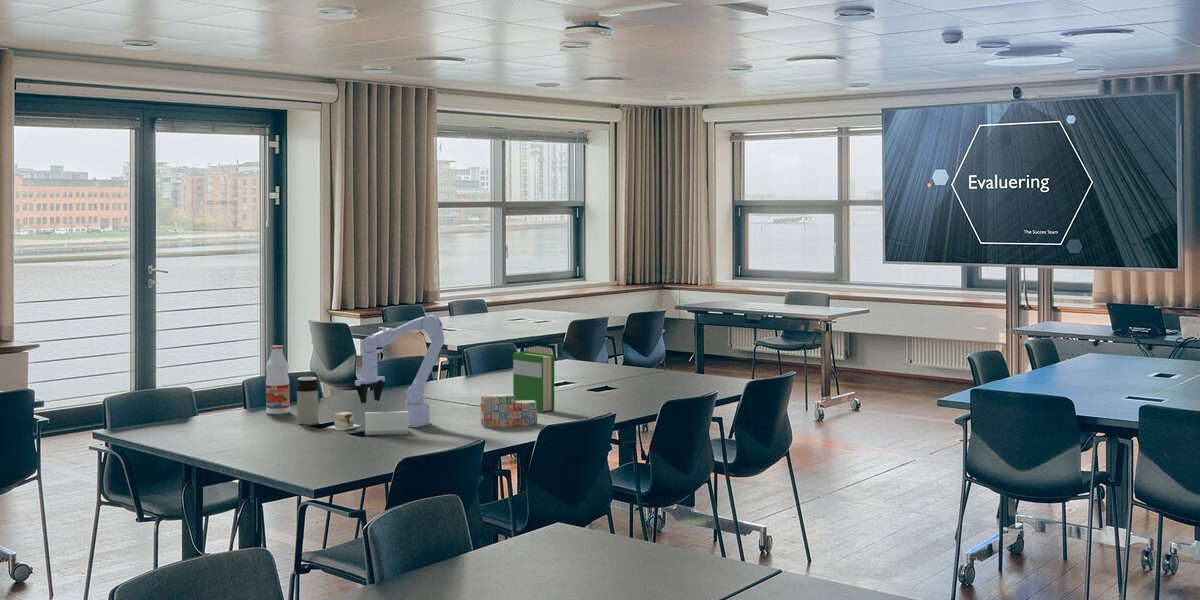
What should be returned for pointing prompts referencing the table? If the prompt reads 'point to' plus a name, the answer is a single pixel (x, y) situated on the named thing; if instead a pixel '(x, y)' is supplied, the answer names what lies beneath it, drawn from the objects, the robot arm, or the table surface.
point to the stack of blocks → (507, 411)
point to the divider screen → (386, 423)
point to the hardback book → (534, 379)
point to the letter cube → (343, 419)
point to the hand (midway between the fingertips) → (370, 401)
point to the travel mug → (307, 401)
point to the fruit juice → (277, 383)
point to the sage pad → (343, 428)
